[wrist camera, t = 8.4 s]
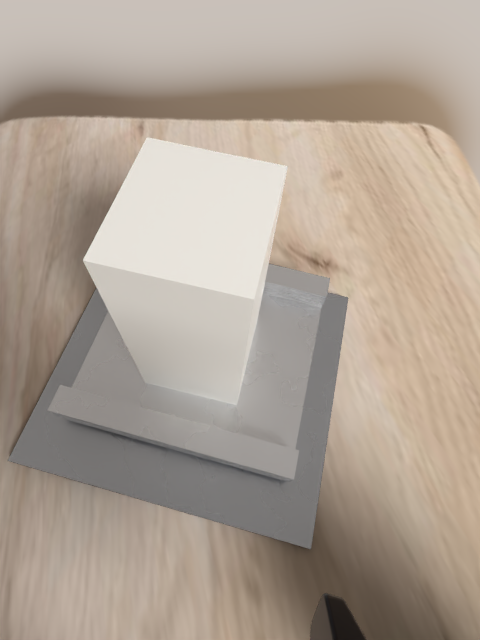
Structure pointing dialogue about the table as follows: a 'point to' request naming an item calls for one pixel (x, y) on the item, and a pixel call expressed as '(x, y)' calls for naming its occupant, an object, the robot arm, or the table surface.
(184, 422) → the rail panel
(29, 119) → the table surface
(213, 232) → the block
